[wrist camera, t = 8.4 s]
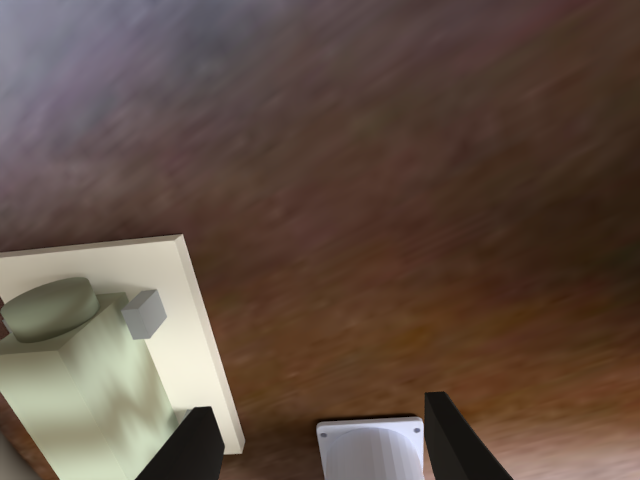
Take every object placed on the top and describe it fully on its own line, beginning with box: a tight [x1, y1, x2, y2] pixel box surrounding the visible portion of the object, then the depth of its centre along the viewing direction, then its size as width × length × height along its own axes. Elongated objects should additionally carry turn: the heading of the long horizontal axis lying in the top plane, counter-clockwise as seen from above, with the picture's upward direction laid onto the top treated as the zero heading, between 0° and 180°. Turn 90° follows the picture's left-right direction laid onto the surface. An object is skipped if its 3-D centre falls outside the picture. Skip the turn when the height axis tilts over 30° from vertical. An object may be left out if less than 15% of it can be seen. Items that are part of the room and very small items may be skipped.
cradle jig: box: [0, 234, 245, 454], centre depth 21 cm, size 18×12×3 cm, turn 7°
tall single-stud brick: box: [0, 277, 179, 480], centre depth 18 cm, size 14×4×5 cm, turn 7°
